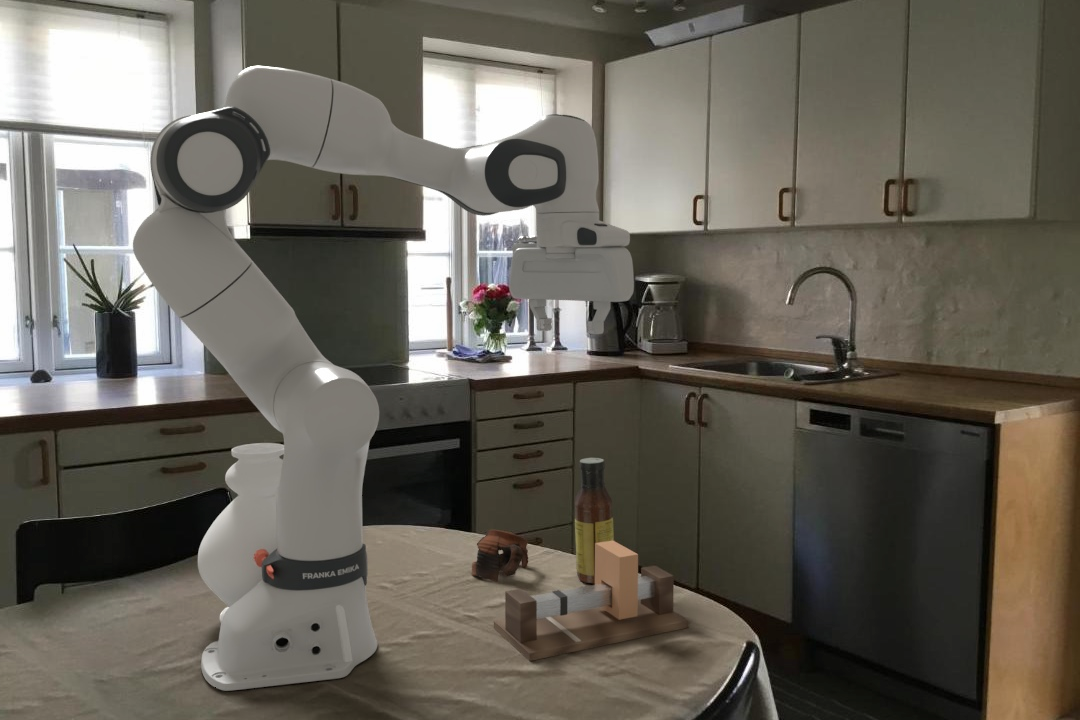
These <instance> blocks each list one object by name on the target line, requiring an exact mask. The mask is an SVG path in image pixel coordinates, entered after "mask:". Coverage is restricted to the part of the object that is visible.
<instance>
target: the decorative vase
mask: <svg viewBox="0 0 1080 720" xmlns="http://www.w3.org/2000/svg"><path fill="white" fill-rule="evenodd" d="M230 452H231V456H232V457H233V458H236V459H237V461H236V462H235V463H233V464H232V465H231V466H230V467H229V468H228V469H227V471H226V473H225V476H224V479H225V483H226V485H227V486H228V488H229V489H231V490H232V491H233V492H234V493H235V494H237V496H236V497H235V498H234V499H233V500H232V501H231V502H230V503H229V504H228V505H227V506H226V507H225V508H224V509H223V510H222V511H221V513H219V515H218V516H217V517H216V518H215V520H213V522H212V524H211V525H210V527H209V528H208V530H207V531H206V533H205V534H204V536H203V538H202V540H201V542H200V545H199V548H198V553H197V569H198V573H199V575H200V577H201V579H202V581H203V582H204V583H205V585H206V586H207V587H208V589H210V590H211V591H212V593H213V594H215V595H216V597H218V599H219V600H220V601H221V602H223V603H224V604H225V605H226V606H227V607H225V608H224V609H223V610H222V611H221V612H220V614H219V623H220V624H221V623H222V620H223V617H224V615H225V613H226V611H227V610H228V608H229V607H231V606H232V605H233V604H234V603H236V602H237V601H238V600H239V599H241V598H242V597H243V596H244V595H245V594H247V593H248V592H249V591H250V590H251V589H252V588H254V587H255V586H256V585H257V584H258V583H259V582H261V581H262V580H263V579H262V567H259V566H257V564H256V562H255V561H254V560H255V559H254V557H255V556H254V554H255V553H256V551H257V550H260V549H265V550H266V551H267V552H268V553H269V555H270V554H271V553H272V552H273V551H274V550H276V549H277V526H276V497H275V494H276V490H277V487H278V485H279V482H280V477H281V471H282V464H283V458H282V457H281V456H284V444H281V443H275V442H260V443H259V442H258V443H249V444H242V445H237V446H234V447H232V448H231V451H230ZM280 457H281V458H280Z"/></svg>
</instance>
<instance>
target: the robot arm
mask: <svg viewBox="0 0 1080 720" xmlns="http://www.w3.org/2000/svg"><path fill="white" fill-rule="evenodd" d="M598 155H599V154H598V146H597V138H596V135H595V131H594V128H593V126H592V125H591V124H590V123H589V122H588V121H586V120H585V119H583V118H581V117H577V116H574V115H569V114H558V113H555V114H554V113H553V114H546V115H543V116H541V117H540V119H539V120H538V121H537V122H535V123H534V124H532V125H531V126H529V127H527V128H525V129H523V130H522V131H519V132H517V133H515V134H513V135H510V136H507V137H505V138H502V139H498V140H495V141H492V142H488V143H486V144H477V145H472V146H467V147H461V148H454V147H451V146H447V145H444V144H441V143H438V142H434V141H431V140H427V139H424V138H421V137H419V136H415V135H412V134H409V133H406V132H405V131H403V130H401V129H399V128H398V127H396V126H395V124H394V123H393V122H392V119H391V116H390V113H389V112H388V109H387V107H386V106H385V105H384V103H383V102H382V101H381V100H380V98H378V97H376V96H375V95H372V94H370V93H368V92H366V91H365V90H362V89H360V88H358V87H355V86H354V85H351V84H349V83H346V82H342V81H340V80H336V79H333V78H329V77H325V76H322V75H319V74H314V73H311V72H310V73H309V72H306V71H301V70H296V69H290V68H283V67H276V66H275V67H274V66H265V65H253V66H249V67H247V68H245V69H243V70H241V71H240V72H239V73H238V74H237V75H236V76H235V78H234V79H233V80H232V82H231V84H230V87H229V88H228V91H227V94H226V99H225V102H224V105H223V107H222V108H218V109H214V110H210V111H206V112H205V111H204V112H201V113H197V114H193V115H190V114H189V115H184V116H182V117H179V118H176V119H174V120H173V121H171V122H169V123H168V124H166V126H164V127H163V128H162V129H161V130H160V132H159V133H158V134H157V136H156V137H155V139H154V141H153V144H152V147H151V151H150V158H149V159H150V161H149V163H150V164H149V165H150V173H151V176H152V182H153V185H154V191H155V194H156V201H157V205H158V207H157V208H156V209H155V210H154V211H153V212H151V214H150V215H148V216H147V217H146V218H145V219H144V220H143V221H142V223H141V224H140V225H139V227H138V228H137V230H136V232H135V234H134V237H133V240H132V241H133V242H132V251H133V254H134V257H135V259H136V261H137V262H138V264H139V265H140V268H142V271H143V272H144V273H145V275H146V276H147V278H148V279H149V282H150V283H151V284H152V285H153V287H154V288H155V290H156V291H157V292H158V294H159V295H160V296H161V298H162V299H163V301H165V303H166V304H167V305H168V306H169V307H170V309H171V310H172V311H173V312H174V313H175V315H177V317H178V318H179V319H180V320H181V321H182V322H183V324H185V325H186V327H187V328H188V329H189V330H190V332H192V333H193V334H194V336H195V337H196V338H197V339H198V340H199V341H200V342H201V343H202V344H203V346H204V347H205V348H206V349H207V350H208V351H209V352H210V353H211V354H212V356H214V358H215V359H216V360H217V361H218V362H219V363H220V364H221V366H222V367H223V368H224V369H225V370H226V372H227V373H228V375H230V377H231V378H232V379H233V380H234V381H235V383H236V384H237V385H238V387H239V388H240V389H241V390H242V392H243V393H244V394H245V395H246V397H247V398H248V399H249V400H250V402H251V403H252V404H253V406H255V407H256V408H257V410H258V411H259V412H260V413H261V414H262V416H263V417H264V418H265V419H266V420H267V421H268V423H270V425H271V426H272V427H273V428H274V429H276V430H277V431H278V432H280V433H281V434H282V435H283V437H282V438H283V445H284V454H283V455H282V456H283V458H282V460H283V464H282V471H281V477H280V482H279V485H278V487H277V490H276V494H275V497H276V526H277V549H276V550H274V551H273V552H272V553H271V554H270V555H269V553H268V552H267V551H266V550H265V549H260V550H257V551H256V553H255V554H254V556H255V557H254V559H255V560H254V561H255V562H256V564H257V566H259V567H262V579H263V580H262V581H261V582H259V583H258V584H257V585H256V586H255V587H254V588H252V589H251V590H250V591H249V592H248V593H247V594H245V595H244V596H243V597H242V598H241V599H239V600H238V601H237V602H236V603H234V604H233V605H232V606H231V607H229V608H228V610H227V611H226V613H225V615H224V617H223V620H222V623H220V628H219V633H218V640H216V641H213V642H211V643H209V645H207V646H206V647H205V648H204V650H203V652H202V653H201V660H200V661H201V663H200V668H201V673H202V675H203V677H204V679H205V681H206V682H207V683H208V684H209V685H211V687H214V688H215V687H216V688H215V689H217V690H221V691H222V692H225V691H226V692H228V691H237V690H239V691H240V690H247V689H254V688H255V689H257V688H264V687H266V688H267V687H273V686H285V685H292V684H300V683H308V682H317V681H327V680H328V681H329V680H336V679H341V678H345V677H347V676H348V675H349V674H350V673H351V672H352V671H353V669H354V668H355V667H356V666H357V665H359V664H361V663H362V662H364V661H366V660H367V659H368V658H370V657H371V656H373V654H374V653H375V652H376V651H377V648H378V644H379V643H378V640H377V638H376V635H375V631H374V629H373V624H372V621H371V616H370V610H369V605H368V600H367V599H368V598H367V597H368V596H367V590H366V586H367V585H368V575H369V570H368V566H369V565H368V562H369V561H368V553H367V552H368V551H367V547H366V544H365V543H364V541H363V540H364V539H363V496H362V495H363V483H364V476H365V471H366V464H367V459H368V453H369V449H370V447H369V446H370V442H371V440H372V437H373V436H374V435H375V432H376V430H377V428H378V424H379V421H380V407H379V403H378V399H377V398H376V395H375V394H374V392H373V391H372V390H371V387H369V385H368V384H367V383H366V381H364V379H362V377H361V376H360V375H358V374H357V373H355V372H353V371H352V370H350V369H347V368H344V367H341V366H338V365H335V364H333V363H332V362H331V361H329V359H328V358H326V357H325V356H324V355H323V354H322V353H321V351H320V350H319V349H318V348H317V346H316V345H315V343H314V342H313V341H312V339H311V338H310V336H309V335H308V333H307V332H306V330H305V328H304V327H303V325H302V324H301V322H300V320H299V319H298V317H297V315H296V313H295V310H294V308H293V307H292V306H291V305H290V304H289V303H288V301H287V300H286V299H285V298H284V297H283V296H282V294H281V293H280V292H279V290H278V289H277V288H276V287H275V286H274V284H273V283H272V282H271V281H270V279H268V277H267V276H266V275H265V274H264V272H262V270H261V269H260V268H259V267H258V265H257V264H256V263H255V262H254V261H253V260H252V259H251V257H250V256H249V255H248V254H247V252H246V251H245V250H244V249H243V247H241V245H240V244H239V243H238V242H237V240H236V239H235V238H234V237H233V234H232V233H231V232H230V230H229V227H228V224H227V220H226V210H228V209H230V208H233V207H234V206H236V205H238V204H239V203H240V202H242V201H243V200H244V199H245V197H246V196H248V195H249V193H250V192H251V191H252V188H253V187H254V185H256V184H255V183H256V182H257V180H258V178H259V175H260V173H261V172H262V170H263V168H264V167H265V165H266V163H267V162H268V161H273V160H274V161H283V162H289V163H293V164H297V165H301V166H304V167H308V168H312V169H316V170H320V171H324V172H330V173H334V174H335V173H336V174H342V175H351V176H352V175H353V176H354V175H355V176H357V175H358V176H381V177H382V176H383V177H388V178H391V179H392V178H393V179H396V180H399V181H403V182H405V183H406V182H407V183H409V184H413V185H417V186H420V187H424V188H427V189H431V190H434V191H437V192H439V193H441V194H443V195H445V196H447V198H449V199H451V200H452V201H453V202H454V203H455V204H456V205H458V207H460V208H461V209H463V210H464V211H466V212H468V213H471V214H473V215H476V216H492V215H494V214H498V213H502V212H503V213H504V212H506V213H507V212H512V211H519V210H525V209H528V208H529V207H532V206H533V207H534V208H535V212H536V213H535V214H536V220H535V221H536V235H521V236H519V238H518V239H516V240H515V242H514V243H513V244H512V257H511V262H510V268H509V269H510V271H509V287H508V288H509V293H510V294H511V296H512V298H513V299H518V300H521V299H523V300H529V308H530V310H531V312H532V314H533V316H534V318H535V319H536V320H535V321H536V330H537V331H539V332H540V331H541V332H547V331H548V332H550V331H551V330H552V329H553V325H552V322H553V320H552V319H553V318H551V317H548V315H547V312H546V310H545V308H544V307H547V300H550V301H551V300H552V301H578V302H593V303H592V305H593V307H592V308H593V310H596V311H595V314H594V316H593V319H592V320H590V321H589V320H588V321H587V327H588V328H587V333H588V334H589V335H602V334H603V333H604V331H605V328H604V326H605V324H604V322H605V320H606V319H607V316H608V315H609V313H610V310H611V302H612V303H620V302H627V301H629V300H630V299H631V297H632V296H633V294H634V289H635V280H634V264H633V258H632V255H631V252H630V251H629V250H628V249H627V248H626V247H627V246H629V245H630V242H631V235H630V232H629V231H628V230H627V229H623V228H621V227H618V226H615V225H612V224H610V223H607V222H605V221H602V220H600V209H599V208H600V207H599V205H598V201H597V189H598V187H599V186H598V185H599V156H598Z"/></svg>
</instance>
